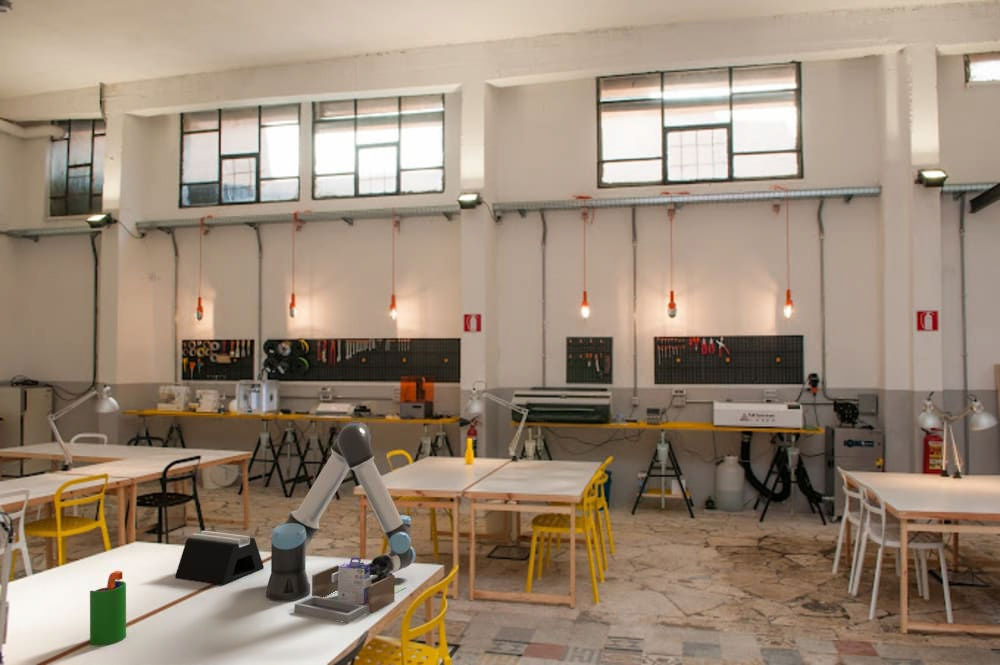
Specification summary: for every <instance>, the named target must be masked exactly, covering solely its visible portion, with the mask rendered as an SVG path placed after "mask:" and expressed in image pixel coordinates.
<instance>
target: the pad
mask: <svg viewBox="0 0 1000 665" xmlns="http://www.w3.org/2000/svg"><path fill="white" fill-rule="evenodd" d="M405 589H407V587H406V586H403V585H399V584H398V585H397V584H395V593H396V594H397V593H399V592H402V591H403V590H405ZM395 593H394V595H395Z"/></svg>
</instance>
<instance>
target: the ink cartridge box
mask: <svg viewBox="0 0 1000 665" xmlns="http://www.w3.org/2000/svg"><path fill="white" fill-rule="evenodd" d="M350 558H351V559H350V561H349V563H343V564H341V565H339V568H338V592H337V600H338V601H343V602H348V603H353V604H358V605H365V604H367V603H369V587H368V588H364V580H365V579H367V578H369V577H371V575H370V565H367V564H366V563H364V564H360V563H362V562H361V561H362V560H361V559H362V558H361V557H350ZM354 560H356V561H354Z"/></svg>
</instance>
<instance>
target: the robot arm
mask: <svg viewBox="0 0 1000 665" xmlns="http://www.w3.org/2000/svg"><path fill="white" fill-rule="evenodd" d="M372 438H373V437H372V432H371V430H370V428H369V427H368V426H367V425H366V424H365V423H363V422H360V421H351V422H347V424H345V425H344V426H343V427H342V428H341V430H340V431H339V433H338V435H337V437H336V439H335V440H334V442H333V444H332V446H331V447H330V450H331V455H330V456H329V458H328V460H327V461H326V463H325V465H324V466H323V468H322V470H321V471H320V473H319V474H318V476H317V477H316V480H315V481H314V483H313V484H312V486H311V488H310V490H309V491H308V492H307V494H306V496H305V497H304V499H303V500H302V503H300V505H299V506H298V508H297V509H296V510H292V511H291V513H290V514H289V516H288V517H287V519H286V520H285V522H284V523H283V524H280V525H277V526H276V527H274V528H273V529H272V531H271V537H270V541H271V553H270V554H271V559H270V561H271V562H270V563H271V564H270V565H271V566H270V568H271V570H270V571H271V572H270V575H269V578H268V581H267V582H268V583H267V586H266V587H265V597H266V598H267V600H270V601H276V602H289V601H296V600H299V599H303V598H305V597H308V596H309V595H310V594H311V584H310V583H309V579H308V575H307V571H306V563H307V562H306V557H307V556H306V553H307V552H306V551H307V548H308V547H309V545H310V544H311V541H312V540H313V538H314V537H315V534H316V533H317V531H318V530H319V528H320V524H319V521H320V519H321V517H322V515H323V514H324V512H325V510H326V509H327V508H328V506H329V504H330V502H331V500H332V499H333V498H334V495H335V494H336V492H337V491H338V489H339V488H340V487H341V484H342V482H343V480H344V479H345V478H346V476H347V475H348V473H349V471H350V470H352V471H354V473H355V475H356V477H357V480H358V481H359V484H360V487H362V490H363V492H364V494H365V495H366V496H365V497H366V498H367V500H368V501H369V504H370V506H371V507H372V509H373V512H374V514H375V516H376V518H377V520H378V522H379V524H380V526H381V528H382V530H383V532H384V535H385V537H386V539H387V541H388V546H389V548H390V551H388V552H385V553H383V554H381V555H378V556H376V557H374V558H373V559H372V560H371V562H369V563H368V564H367V565H370V577H369V578H367V579H365V580H364V588H368V587H369V585H372V584H374V583H376V582H378V581H380V580H382V579H384V578H387V577H389V576H391V575H393V574H394V573H395V572H398V571H400V570H402V569H405V568H407V567H408V566H410V565H412V564H413V563H414V562H415V560H416V557H417V555H416V554H417V553H416V551H415V549H414V547H412V545H411V544H412V538H411V536H412V535H411V534H412V533H411V531H412V530H411V528H412V522H411V521H412V520H411V517H410V516H408V515H405V514H401V515H400V513H399V511H398V509H397V507H396V505H395V503H394V501H393V498H392V497H391V494H390V492H389V491H388V488H387V486H386V485H385V484H386V483H385V482H384V479H383V477H382V476H381V474H380V471H379V470H378V468H377V465H376V463H375V460H374V459H375V454H374V452H373V450H372V447H371V443H372ZM360 564H365V562H360ZM336 581H338V572H336V573H334V574H332V582H336Z"/></svg>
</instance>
